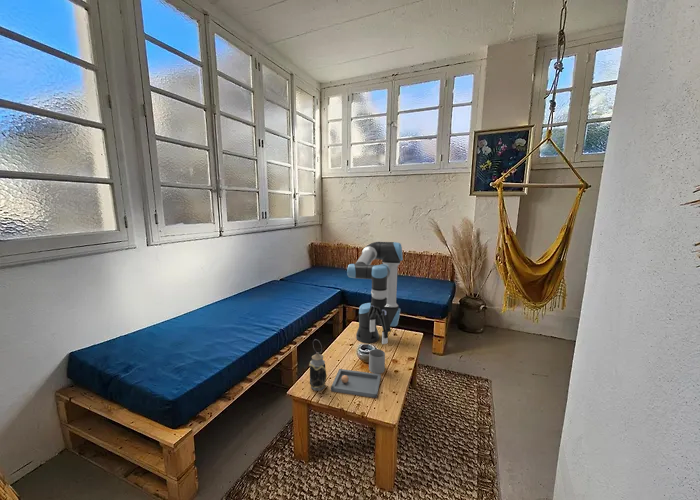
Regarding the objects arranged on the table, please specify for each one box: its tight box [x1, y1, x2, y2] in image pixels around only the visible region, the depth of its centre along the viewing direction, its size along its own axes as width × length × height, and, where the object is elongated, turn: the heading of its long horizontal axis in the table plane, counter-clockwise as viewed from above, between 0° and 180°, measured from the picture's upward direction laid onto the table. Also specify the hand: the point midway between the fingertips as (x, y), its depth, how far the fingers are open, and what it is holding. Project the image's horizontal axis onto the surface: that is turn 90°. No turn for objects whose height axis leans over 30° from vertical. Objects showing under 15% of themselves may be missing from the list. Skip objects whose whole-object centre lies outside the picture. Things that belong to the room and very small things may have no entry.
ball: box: [341, 375, 349, 383], centre depth 142 cm, size 4×4×4 cm
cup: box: [368, 348, 386, 374], centre depth 153 cm, size 8×8×10 cm
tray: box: [330, 368, 382, 399], centre depth 141 cm, size 16×22×2 cm
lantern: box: [308, 338, 327, 392], centre depth 137 cm, size 9×8×25 cm
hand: (378, 337), depth 144 cm, fingers open, 13 cm apart
